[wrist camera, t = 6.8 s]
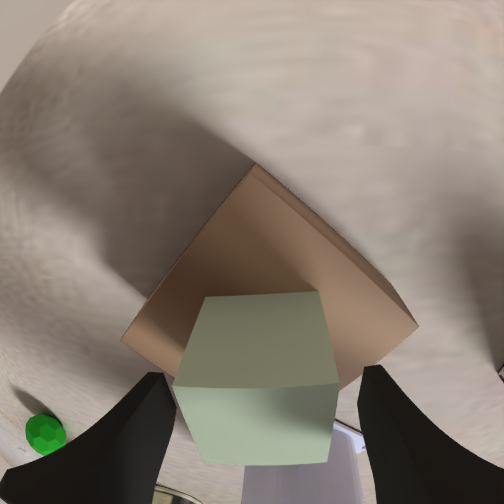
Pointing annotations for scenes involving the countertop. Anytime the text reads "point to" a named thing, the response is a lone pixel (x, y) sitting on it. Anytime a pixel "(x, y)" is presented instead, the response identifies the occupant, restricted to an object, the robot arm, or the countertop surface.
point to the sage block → (259, 380)
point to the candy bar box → (501, 374)
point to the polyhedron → (45, 434)
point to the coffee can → (172, 497)
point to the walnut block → (273, 279)
